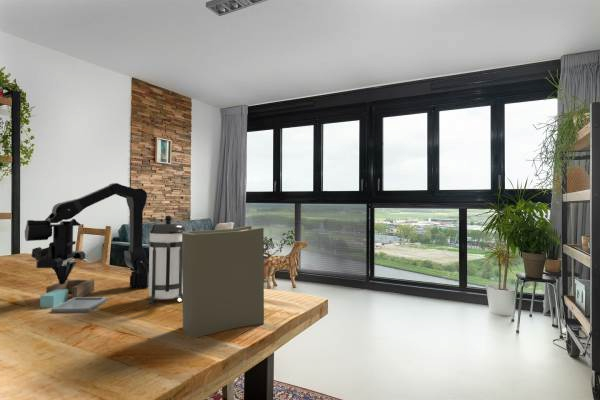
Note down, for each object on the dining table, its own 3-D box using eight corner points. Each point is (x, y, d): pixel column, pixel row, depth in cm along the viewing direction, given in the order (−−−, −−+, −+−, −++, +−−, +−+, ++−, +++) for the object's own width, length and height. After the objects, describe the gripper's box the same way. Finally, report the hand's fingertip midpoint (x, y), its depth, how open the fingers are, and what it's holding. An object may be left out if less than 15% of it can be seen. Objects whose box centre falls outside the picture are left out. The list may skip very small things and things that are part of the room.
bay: (94, 291, 132) (94, 279, 132) (76, 300, 120) (77, 287, 120) (66, 291, 131) (66, 279, 131) (46, 300, 119) (46, 287, 119)
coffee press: (131, 302, 119) (133, 215, 119) (168, 291, 133) (170, 214, 133) (166, 310, 111) (168, 217, 111) (202, 298, 125) (204, 215, 125)
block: (68, 289, 119) (53, 295, 111) (67, 300, 119) (53, 308, 111) (55, 289, 119) (40, 295, 111) (55, 300, 119) (40, 308, 111)
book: (189, 341, 88) (188, 232, 88) (179, 329, 96) (179, 229, 96) (263, 323, 100) (263, 228, 100) (249, 314, 108) (249, 225, 108)
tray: (107, 300, 120) (107, 296, 120) (88, 312, 107) (88, 308, 107) (74, 300, 119) (74, 297, 119) (51, 312, 106) (51, 308, 106)
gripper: (54, 236, 128) (53, 278, 128) (18, 242, 109) (17, 291, 109) (86, 236, 129) (85, 277, 129) (56, 242, 110) (55, 291, 110)
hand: (62, 283), depth 119 cm, fingers closed
